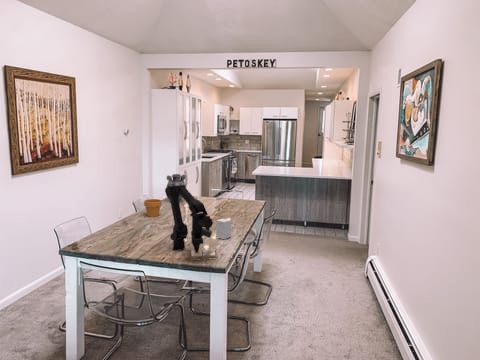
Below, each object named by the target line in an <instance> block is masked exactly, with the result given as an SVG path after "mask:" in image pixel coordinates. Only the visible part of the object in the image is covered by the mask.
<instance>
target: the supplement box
mask: <svg viewBox="0 0 480 360" xmlns="http://www.w3.org/2000/svg"><path fill="white" fill-rule="evenodd" d="M215 222H216V232H215V233H216V234H215V237H219V238H223V239H225V238H228V237H231V238H232V220H231V219H227V218H220V219H216V221H215Z"/></svg>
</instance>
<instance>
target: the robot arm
mask: <svg viewBox="0 0 480 360" xmlns="http://www.w3.org/2000/svg"><path fill="white" fill-rule="evenodd" d="M185 186H186V185H185ZM185 186H184V185H173V186H167V185H166V187H165V189H164V192H165V196H166V197H167V199H168V200H169V201H170V207H171V211H172V217H173V223H174V225H173V227H172V233H171V234H170V236H169V238H170V240H172V241H173V243H172V244H173V245H172V246H173V247H172V251H184V250H185V249H186V248H185V247H186V245H185V244H186V243H185V239H187V236H188V234H189V229H188V225H187V224H186V223H184V221H183V217H182V211H181V207H180V206H181V205H180V203H179V200H178V198H179V196H180V195H181V196H182V197H183V198H182V199H183V200H184V201H185V202H186V203H187V204H188V209H189V210H190V212H191V214H189V216H190V217H191V223H192V224H191V231H190V235H191V244H192V246H193V250H194V249H195V251H196V253H198V250H200V247H201V246H200V245H202V244H204V238H203V236H205V237H207V238H209V239H210V238H211V236H212V234H213V232H212V230H210V228H211V227H213V225H214V221H213V220H212V218H211V216H210V215H208V212H207V209H206V207H205V205H204V203H203V202H202V201H200V200H199V199H196V198H195V197H194V196H193V195H192V193H191V192H190V191H189V190H188V189H187V187H185ZM199 246H200V247H199Z"/></svg>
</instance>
